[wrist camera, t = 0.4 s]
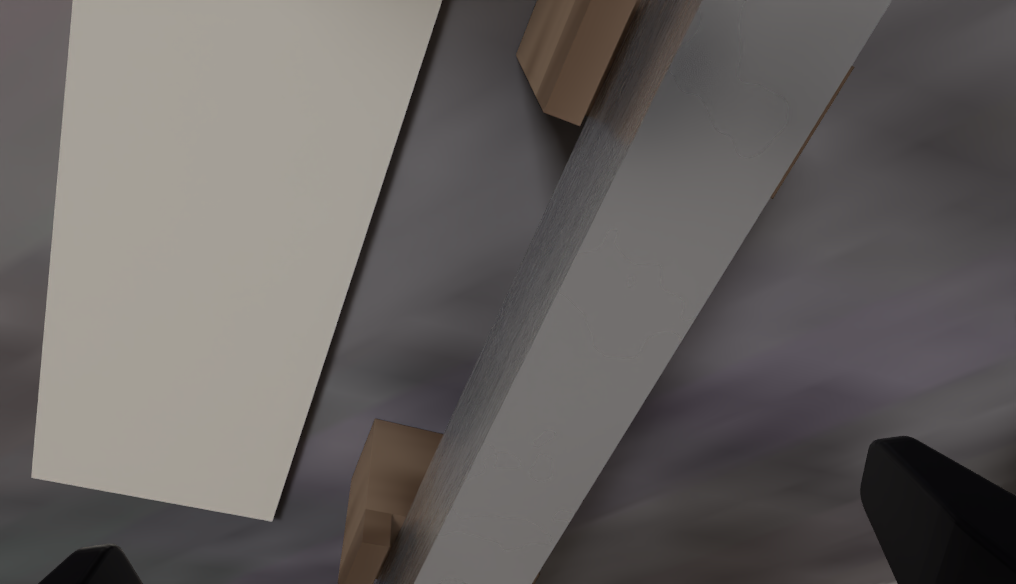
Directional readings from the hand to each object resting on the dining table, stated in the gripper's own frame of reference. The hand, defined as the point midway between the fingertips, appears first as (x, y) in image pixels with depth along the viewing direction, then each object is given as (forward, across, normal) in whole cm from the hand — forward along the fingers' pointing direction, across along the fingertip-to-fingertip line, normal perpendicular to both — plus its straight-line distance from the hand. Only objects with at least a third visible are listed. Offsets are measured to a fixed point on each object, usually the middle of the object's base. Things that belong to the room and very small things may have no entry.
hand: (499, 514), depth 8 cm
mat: (+13, +7, 0) cm, 15 cm away
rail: (+9, -1, +5) cm, 10 cm away
